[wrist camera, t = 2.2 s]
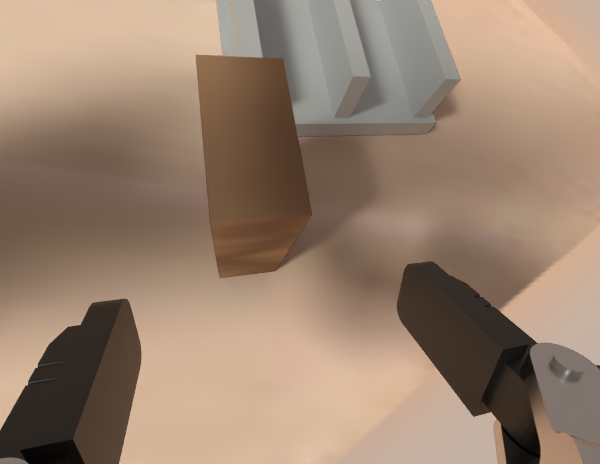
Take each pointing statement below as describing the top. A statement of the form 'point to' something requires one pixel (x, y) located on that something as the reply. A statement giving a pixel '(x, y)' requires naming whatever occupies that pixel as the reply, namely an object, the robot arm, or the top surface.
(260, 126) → the brown rectangular block
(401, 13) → the rack
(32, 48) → the top surface
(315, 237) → the top surface
